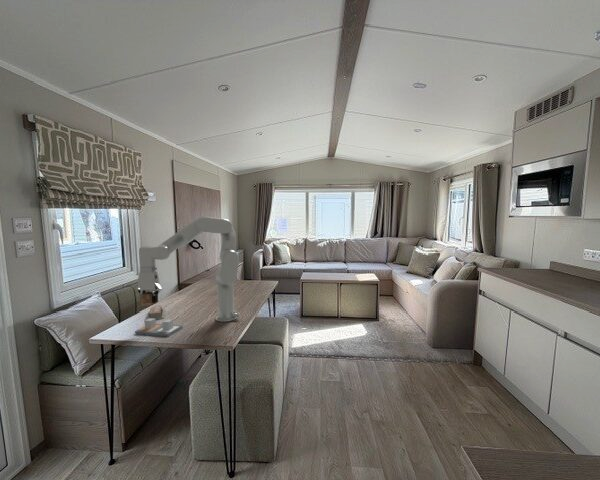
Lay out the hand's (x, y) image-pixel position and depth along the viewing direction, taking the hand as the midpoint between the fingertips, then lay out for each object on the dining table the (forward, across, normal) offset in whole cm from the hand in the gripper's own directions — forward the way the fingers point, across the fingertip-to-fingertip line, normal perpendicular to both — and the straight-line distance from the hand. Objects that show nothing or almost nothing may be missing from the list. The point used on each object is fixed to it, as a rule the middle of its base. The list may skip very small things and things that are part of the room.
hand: (149, 301), depth 159 cm
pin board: (+16, -6, 0) cm, 17 cm away
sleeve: (+1, 0, 0) cm, 1 cm away
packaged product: (+16, +14, -23) cm, 32 cm away
